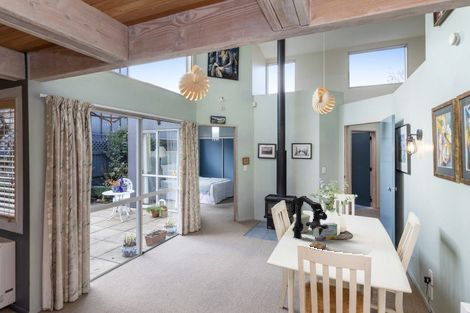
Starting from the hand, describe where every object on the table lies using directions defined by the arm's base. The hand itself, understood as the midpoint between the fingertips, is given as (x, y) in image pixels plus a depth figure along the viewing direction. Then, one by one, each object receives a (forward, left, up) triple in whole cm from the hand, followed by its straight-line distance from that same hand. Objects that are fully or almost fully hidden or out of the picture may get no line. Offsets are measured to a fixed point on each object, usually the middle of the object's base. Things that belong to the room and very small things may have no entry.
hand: (317, 235), depth 224 cm
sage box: (0, 0, -1) cm, 1 cm away
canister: (-31, +33, -12) cm, 47 cm away
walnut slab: (0, 0, -12) cm, 12 cm away
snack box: (-2, +25, -12) cm, 28 cm away
